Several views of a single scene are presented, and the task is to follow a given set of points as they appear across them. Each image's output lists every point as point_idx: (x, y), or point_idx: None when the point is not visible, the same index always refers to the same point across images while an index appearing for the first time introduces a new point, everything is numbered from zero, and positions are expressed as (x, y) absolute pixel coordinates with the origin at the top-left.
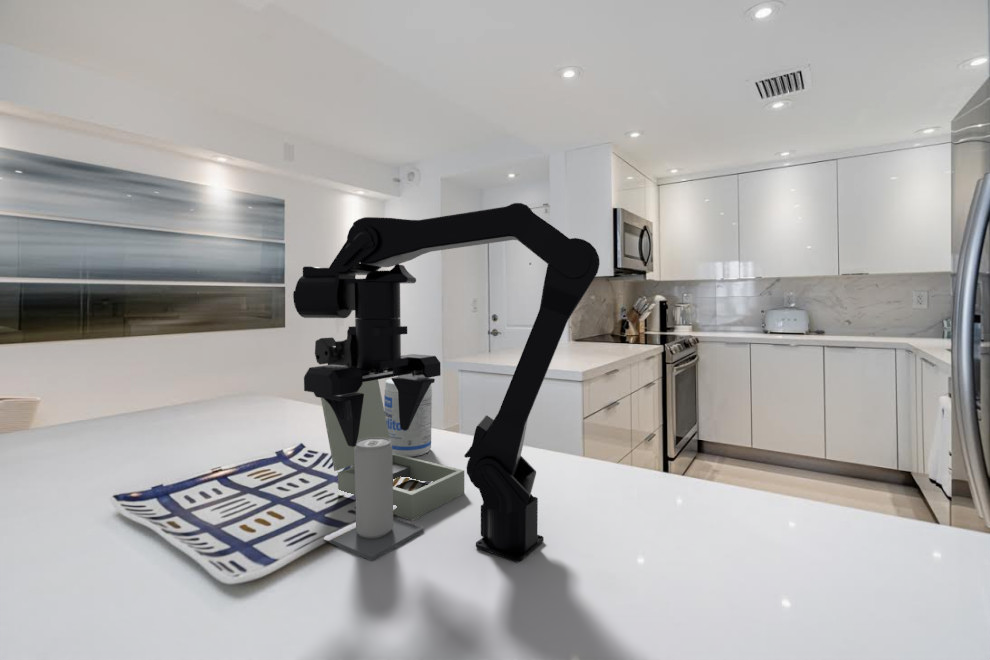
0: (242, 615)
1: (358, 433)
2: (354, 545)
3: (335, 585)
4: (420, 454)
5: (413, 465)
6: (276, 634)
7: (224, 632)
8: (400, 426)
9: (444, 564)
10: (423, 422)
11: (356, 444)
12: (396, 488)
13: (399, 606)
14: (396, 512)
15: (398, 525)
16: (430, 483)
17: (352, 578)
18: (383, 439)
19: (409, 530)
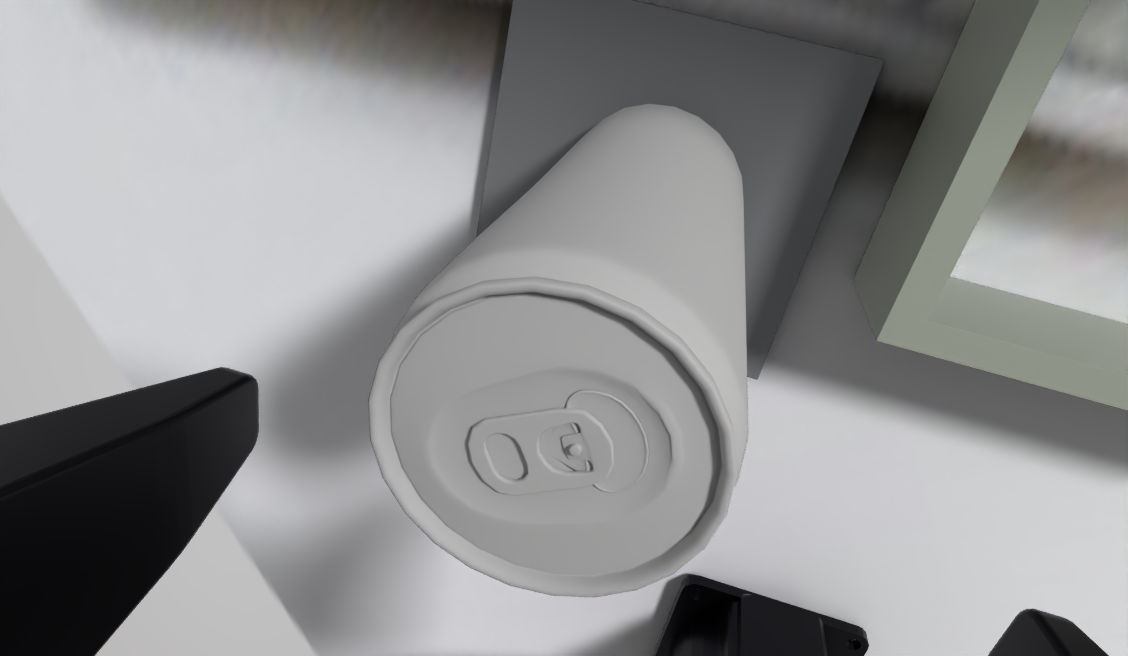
0: (62, 87)
1: (157, 576)
2: (509, 180)
3: (307, 256)
4: None
5: None
6: (89, 245)
7: (3, 103)
8: (1038, 630)
9: None
10: None
11: (403, 341)
12: (970, 200)
13: (332, 467)
14: (902, 177)
15: (747, 266)
16: (1105, 372)
17: (362, 285)
18: (702, 486)
19: None
